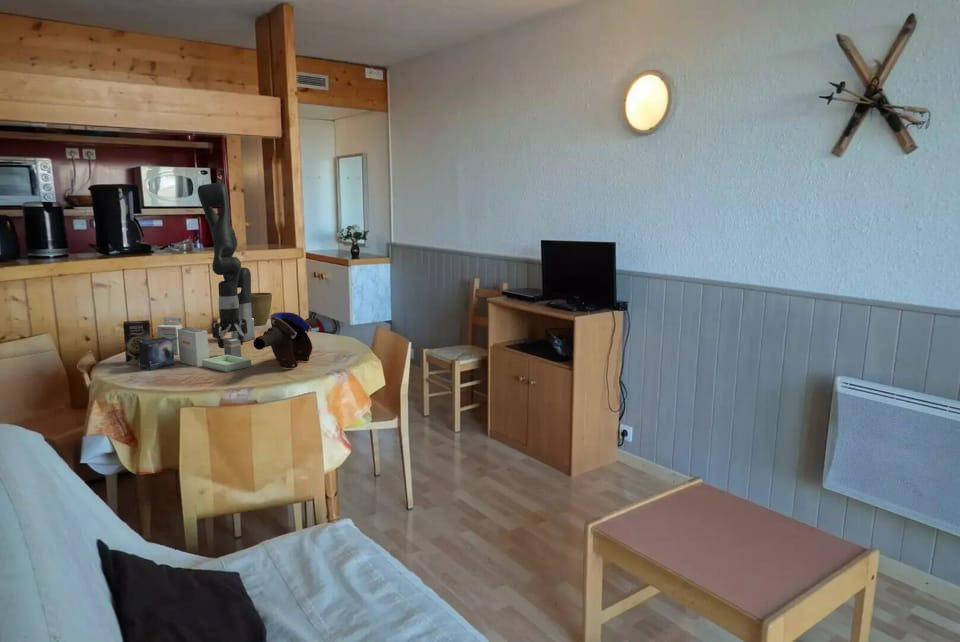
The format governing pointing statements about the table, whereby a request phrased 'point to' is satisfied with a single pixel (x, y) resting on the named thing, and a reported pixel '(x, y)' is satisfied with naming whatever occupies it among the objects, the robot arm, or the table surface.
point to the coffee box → (135, 339)
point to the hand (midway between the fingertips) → (231, 346)
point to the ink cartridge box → (170, 331)
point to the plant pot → (260, 307)
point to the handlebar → (288, 338)
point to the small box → (156, 353)
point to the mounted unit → (193, 346)
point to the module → (232, 347)
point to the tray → (226, 363)
